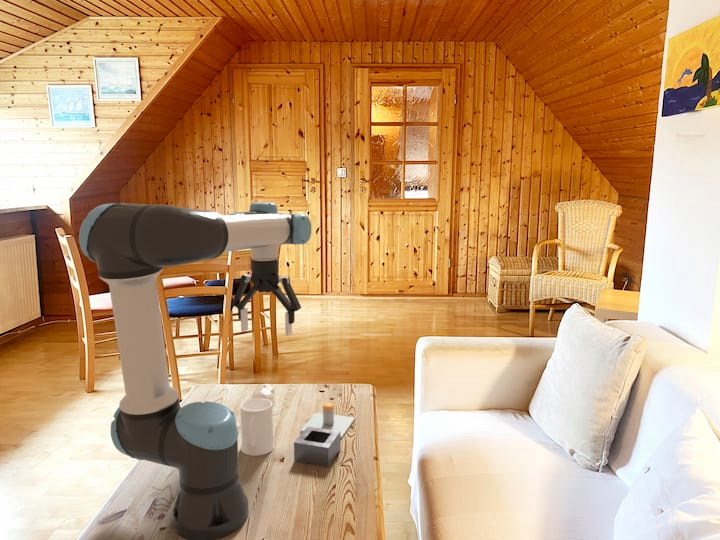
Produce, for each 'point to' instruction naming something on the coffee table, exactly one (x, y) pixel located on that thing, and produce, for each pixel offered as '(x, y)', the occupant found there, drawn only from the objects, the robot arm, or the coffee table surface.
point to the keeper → (330, 420)
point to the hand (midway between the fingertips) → (266, 332)
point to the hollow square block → (317, 446)
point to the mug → (257, 427)
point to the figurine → (265, 393)
